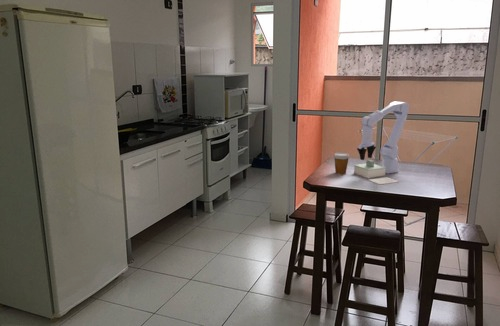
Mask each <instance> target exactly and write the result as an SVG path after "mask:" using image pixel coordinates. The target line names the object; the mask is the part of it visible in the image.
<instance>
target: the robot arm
mask: <svg viewBox="0 0 500 326" xmlns="http://www.w3.org/2000/svg"><path fill="white" fill-rule="evenodd" d="M409 111H410V105H409V103H408V102H406V101H396V100H394V101H392V102H390V103H389V104H388V105H387V106H385V107H384V108H383V109H381V110H379V109H378V110H376V109H375V110H374V112H372V113H370V114H368V115H367V116H366V115H365V116H363V117H362V119H361V121H360V124H361V126H362V127H361V128H362V135H361V142H360V144H358V146H357V148H356V149H357V152H358V154H359V158H360V160H361V161H365V158H366V153H367V158H368V159H372V157H373V154H374V152H375V150H376V148H377V147H376V142H373V131H374V129H373V128H374V126H375V125H376V123H377V122H379V121H381V120H383V118H384V116H385V115H388V114H389V113H393V114H394V116H396V117H395V118H396V119H395V122H394V124H393V127H392V130H391V132H390V135H389V137H388V141H387V142H385V143H383V146H382V147H381V148H380V149H379V150H380V151H379V153H380V156H381V159H382V161H381V166H382V167H386V170H385V174H394V173H399V160H398V158H397V157H398V155H399V148H400V147H399V146H398V145H397V144H398V142H399V139H400V137H401V134H402V132H403V129H404V126H405V123H406V121H407V118H408V114H409Z"/></svg>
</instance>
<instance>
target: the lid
mask: <svg viewBox="0 0 500 326" xmlns="http://www.w3.org/2000/svg"><path fill="white" fill-rule="evenodd" d="M354 166H355V167H358V168H361V169H364V170H367V171H372V170H380V169H386V167H382V165H379V164H376V163H375V161H374V160H371V159H367V160H366V162H365V163H360V164H354Z"/></svg>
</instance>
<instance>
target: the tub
mask: <svg viewBox="0 0 500 326" xmlns="http://www.w3.org/2000/svg"><path fill="white" fill-rule="evenodd" d="M353 169H354V170H353V173H354V174H355V175H358V176H360V177H364V178H365V179H375V178H383V177H386V173H385V170H386V169H380V170H372V171H367V170H364V169H361V168H358V167H355V165H354V168H353Z"/></svg>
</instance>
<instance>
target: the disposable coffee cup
mask: <svg viewBox="0 0 500 326" xmlns="http://www.w3.org/2000/svg"><path fill="white" fill-rule="evenodd" d="M349 158H350V155H349V153H347V152H346V153H345V152H335V153H334V155H333V159H334V169H335V174H336V175H346V174H347V169H348V164H349Z"/></svg>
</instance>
